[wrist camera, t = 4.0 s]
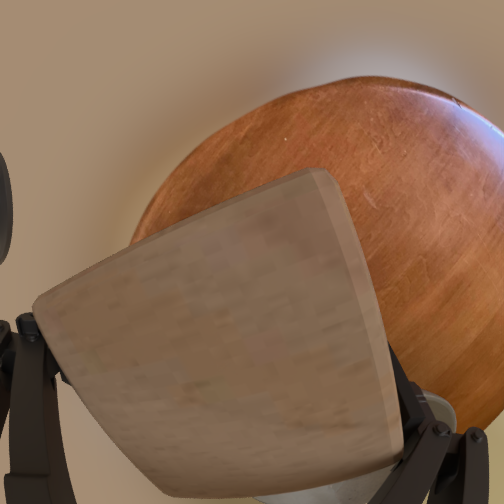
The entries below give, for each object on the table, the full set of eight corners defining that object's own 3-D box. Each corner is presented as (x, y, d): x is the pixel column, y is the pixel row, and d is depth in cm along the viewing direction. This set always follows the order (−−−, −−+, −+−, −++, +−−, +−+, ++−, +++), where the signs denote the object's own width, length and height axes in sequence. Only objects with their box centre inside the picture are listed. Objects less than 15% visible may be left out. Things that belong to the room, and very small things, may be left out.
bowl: (261, 480, 36) (256, 517, 28) (218, 362, 30) (199, 412, 22) (416, 454, 32) (427, 489, 24) (450, 322, 26) (485, 360, 18)
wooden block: (195, 231, 26) (22, 304, 7) (295, 190, 25) (332, 156, 5) (237, 324, 28) (165, 500, 8) (333, 290, 26) (408, 463, 6)
